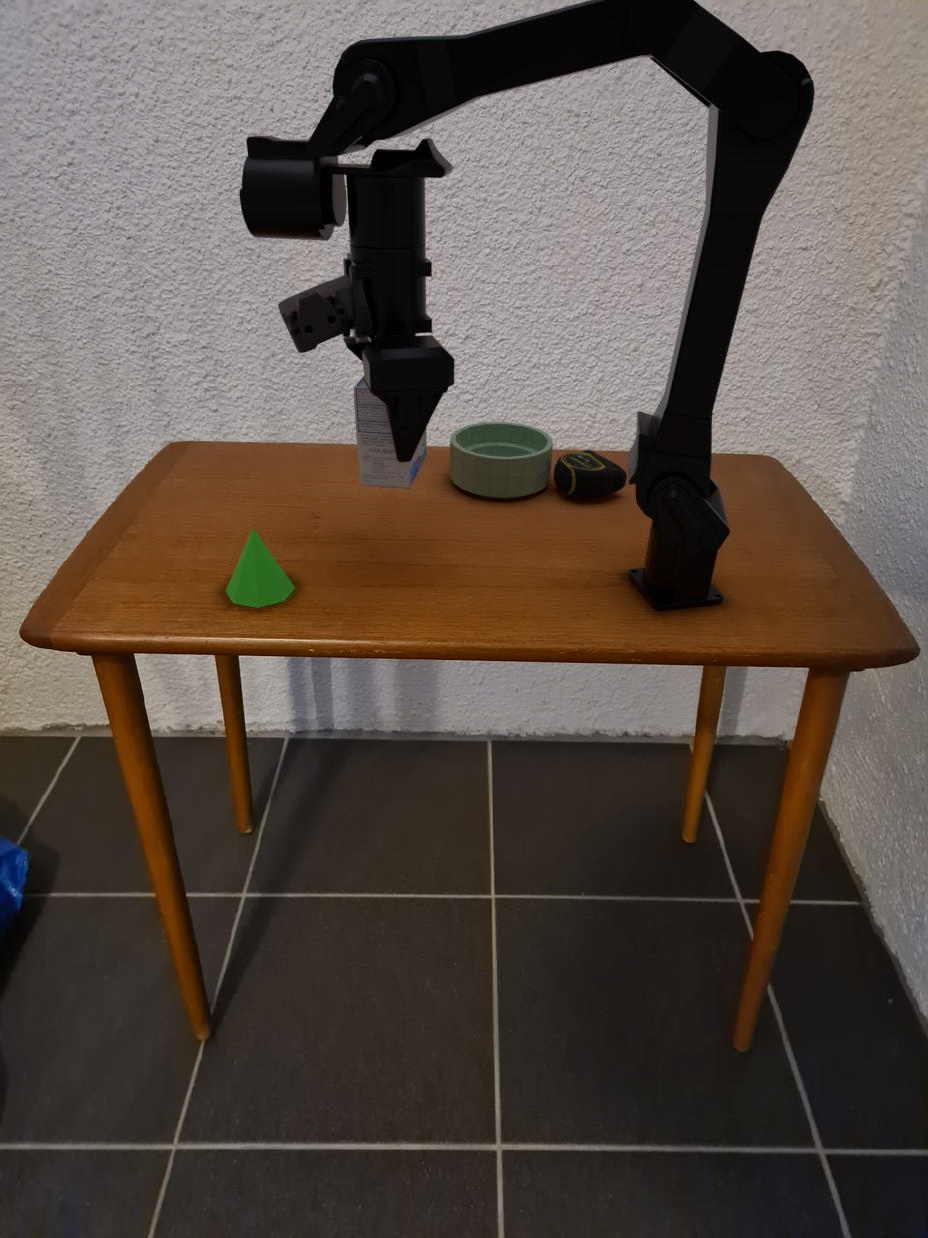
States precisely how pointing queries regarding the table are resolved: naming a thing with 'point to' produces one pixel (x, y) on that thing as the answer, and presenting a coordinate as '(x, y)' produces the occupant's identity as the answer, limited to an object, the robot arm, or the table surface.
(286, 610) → the table surface
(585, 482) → the tape measure
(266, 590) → the green faceted cone
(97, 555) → the table surface
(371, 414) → the medicine box
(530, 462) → the bowl
